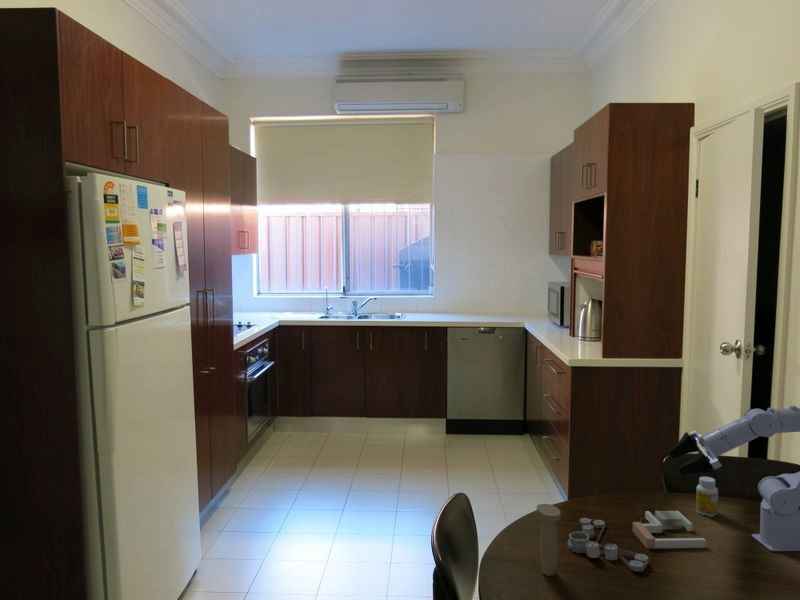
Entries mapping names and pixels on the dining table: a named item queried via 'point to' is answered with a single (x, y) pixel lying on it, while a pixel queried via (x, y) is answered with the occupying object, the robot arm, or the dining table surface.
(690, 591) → the dining table surface
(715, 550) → the dining table surface
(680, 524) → the block
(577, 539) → the pulley system
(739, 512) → the dining table surface
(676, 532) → the dining table surface
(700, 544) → the channel
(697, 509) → the supplement bottle
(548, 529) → the handle
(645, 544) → the block
